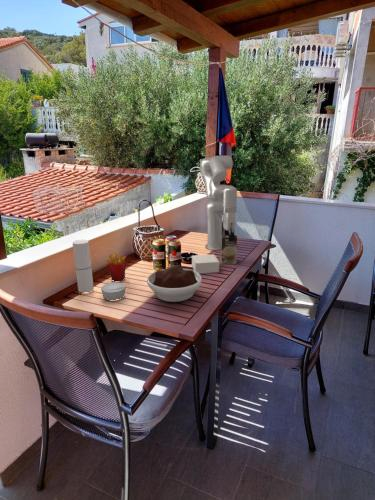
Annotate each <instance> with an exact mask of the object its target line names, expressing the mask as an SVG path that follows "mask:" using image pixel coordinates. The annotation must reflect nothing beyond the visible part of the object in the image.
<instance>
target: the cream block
mask: <svg viewBox="0 0 375 500" xmlns="http://www.w3.org/2000/svg"><path fill="white" fill-rule="evenodd" d="M191 267H192V269H193V271H195V272H197V273H199V274H211V273H212V274H213V273H219V272H220V261H219V259H218V258H217V256H216V255H215V254H200V255H199V254H198V255H191Z"/></svg>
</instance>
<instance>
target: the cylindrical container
mask: <svg viewBox="0 0 375 500" xmlns="http://www.w3.org/2000/svg"><path fill="white" fill-rule="evenodd" d="M89 242H90V241H89V239H78V240H74V241H72V249H73V259H74V265H75V273H76V280H77V281H76V282H77V291H79V292H90V291H92V290H93V289H94V280H93V279H94V278H93V270H92V262H91V253H90V243H89ZM94 290H95V289H94ZM79 292H78V293H79Z"/></svg>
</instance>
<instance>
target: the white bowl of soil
mask: <svg viewBox="0 0 375 500" xmlns="http://www.w3.org/2000/svg"><path fill="white" fill-rule="evenodd" d="M202 280H203V279H202V275H201V273H197V272H195V271H194V269H193V270H192V269H189V268H183V267H182V266H181V265H180V264H176V265H174V266H171V267H168V268H163V269H157V270H156V271H154V272H152V273H150V274H149V275H148V276H147V280H146V284H147V285H148V287H149V289H150V290H151V291H152V292H153V293H154V295H155V296H156V297H157V299H159V300H161V301H164V302H169V303H179V302H183V301H187V300H189V299H191V298H192V297H193V296H194V295H195V292H196V291H197V289H198V288H200V286H201V284H202Z"/></svg>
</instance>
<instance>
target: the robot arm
mask: <svg viewBox="0 0 375 500" xmlns="http://www.w3.org/2000/svg"><path fill="white" fill-rule="evenodd" d="M233 165H234V162H233V158H232V157H231V156H230V155H214V156H212V157H210V156H209V157H204V158H202V159H201V160H200V163H199V166H200V173H201V175H202V177H203V180H204V186H205V192H206V193H205V194H206V197H207V199H208V200H211V201H208V202H207V203H206V206H205V208H206V216H207V217H206V218H207V237H206V238H207V240H206V241H207V244H205V245H204V248H205V249H206V250H210V251H219V250H220V251H221V239H222V235H223V229H224V235H229V241H234V238H235V232H236V231H235V229H236V213H237V211H238V209H237V207H238V206H237V205H238V202H237V200H238V190H237V188H236V187H234V185H227V184H219V183H221V182H223V181H225V179H226V178H227V177H228V172H227V171H229V170H232V168H233ZM219 216H223V218H222V219H221V217H219ZM222 220H223V221H222Z"/></svg>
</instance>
